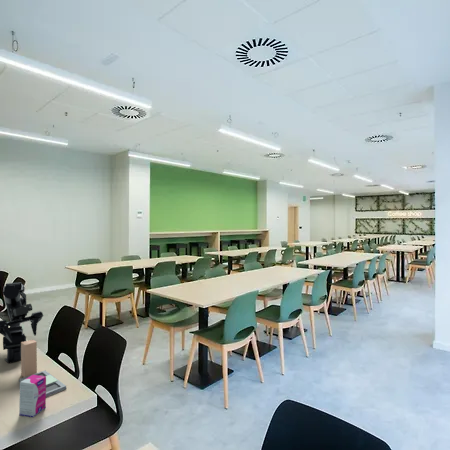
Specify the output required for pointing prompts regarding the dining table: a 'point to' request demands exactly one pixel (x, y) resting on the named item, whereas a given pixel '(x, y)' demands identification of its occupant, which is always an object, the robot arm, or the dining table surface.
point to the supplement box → (32, 395)
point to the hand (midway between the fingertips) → (24, 338)
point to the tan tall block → (28, 358)
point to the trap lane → (49, 383)
